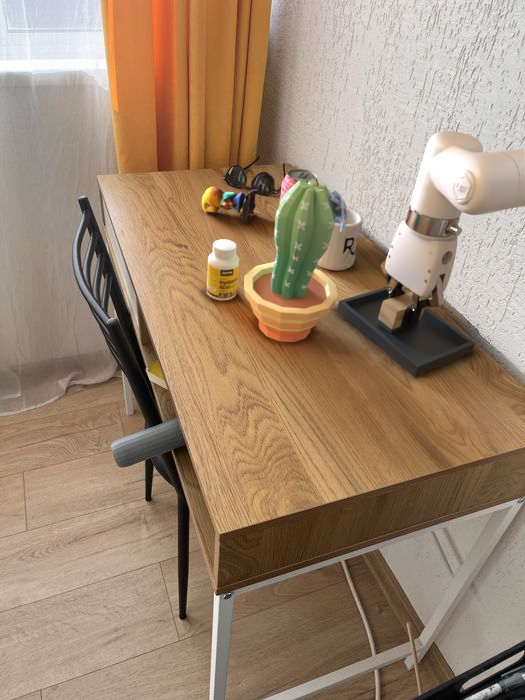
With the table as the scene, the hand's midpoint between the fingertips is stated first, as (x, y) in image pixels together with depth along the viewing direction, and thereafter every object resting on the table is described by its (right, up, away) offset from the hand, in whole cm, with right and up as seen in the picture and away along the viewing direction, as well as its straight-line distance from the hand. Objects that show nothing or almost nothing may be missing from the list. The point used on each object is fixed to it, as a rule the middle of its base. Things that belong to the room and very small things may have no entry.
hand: (400, 317), depth 91 cm
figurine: (-31, +25, +29) cm, 49 cm away
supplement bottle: (-31, +5, +4) cm, 32 cm away
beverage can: (-17, +22, +28) cm, 39 cm away
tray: (0, -2, 0) cm, 2 cm away
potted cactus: (-20, -2, -2) cm, 20 cm away
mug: (-9, +13, +18) cm, 24 cm away
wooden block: (0, -1, +1) cm, 1 cm away
